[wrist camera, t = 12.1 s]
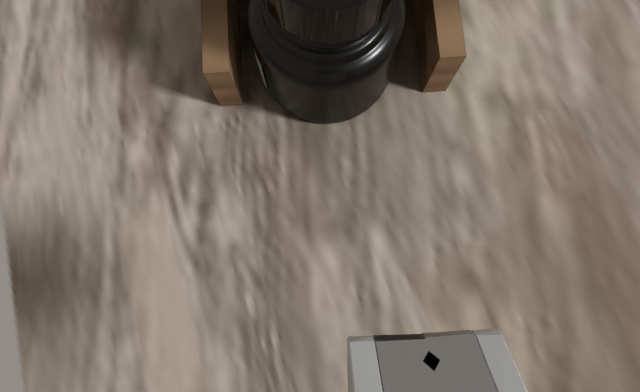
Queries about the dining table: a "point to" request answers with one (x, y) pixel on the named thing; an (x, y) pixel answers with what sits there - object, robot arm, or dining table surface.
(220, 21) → the cradle
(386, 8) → the ink bottle
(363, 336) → the robot arm
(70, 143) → the dining table surface
